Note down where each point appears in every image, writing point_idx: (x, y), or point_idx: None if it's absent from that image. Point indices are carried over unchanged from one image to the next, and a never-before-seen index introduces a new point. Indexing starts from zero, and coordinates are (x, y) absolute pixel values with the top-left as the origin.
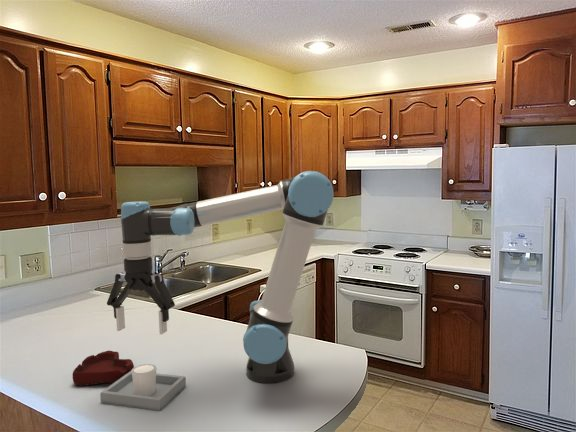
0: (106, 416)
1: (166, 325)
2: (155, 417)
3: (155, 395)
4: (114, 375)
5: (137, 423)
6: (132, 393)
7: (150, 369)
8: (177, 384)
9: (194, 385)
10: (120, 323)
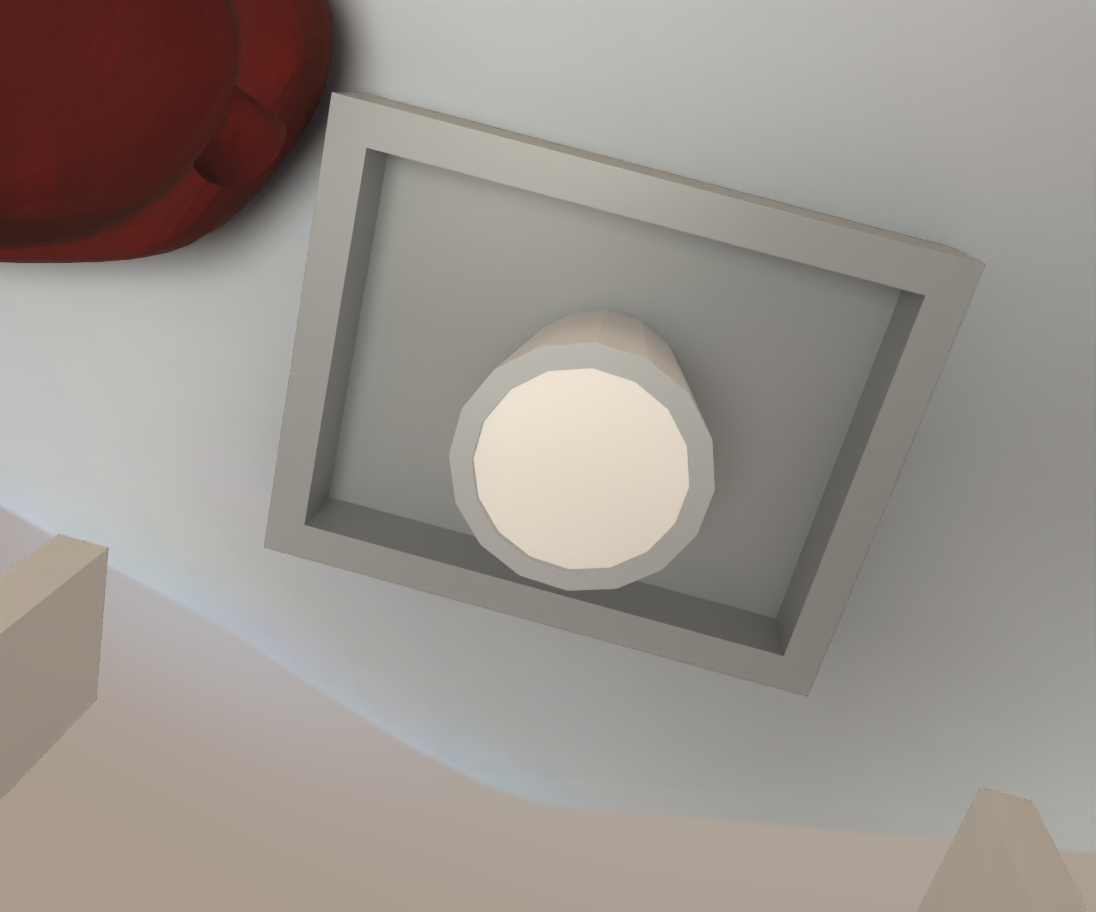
0: (430, 684)
1: (1072, 899)
2: (783, 722)
3: None
4: (216, 227)
5: (677, 778)
6: None
7: (658, 485)
8: (917, 424)
9: (1041, 233)
10: (16, 739)
